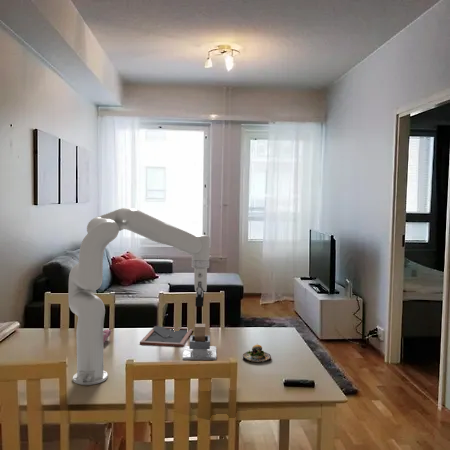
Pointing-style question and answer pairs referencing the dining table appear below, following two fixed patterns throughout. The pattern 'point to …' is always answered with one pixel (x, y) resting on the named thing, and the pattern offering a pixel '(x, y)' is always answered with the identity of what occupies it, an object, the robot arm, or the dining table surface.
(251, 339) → the dining table surface
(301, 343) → the dining table surface
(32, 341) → the dining table surface
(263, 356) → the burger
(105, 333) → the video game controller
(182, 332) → the picture frame
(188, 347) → the cup bracket
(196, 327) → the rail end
